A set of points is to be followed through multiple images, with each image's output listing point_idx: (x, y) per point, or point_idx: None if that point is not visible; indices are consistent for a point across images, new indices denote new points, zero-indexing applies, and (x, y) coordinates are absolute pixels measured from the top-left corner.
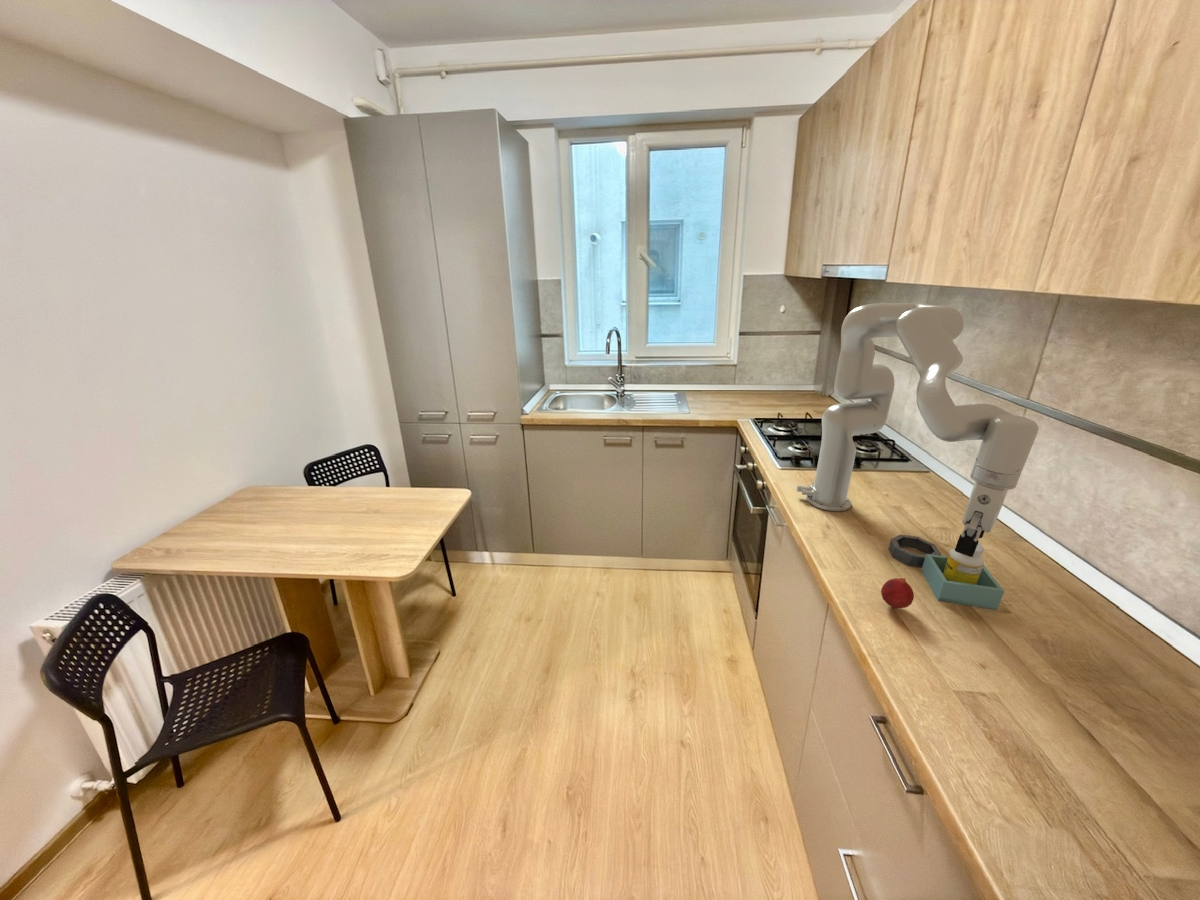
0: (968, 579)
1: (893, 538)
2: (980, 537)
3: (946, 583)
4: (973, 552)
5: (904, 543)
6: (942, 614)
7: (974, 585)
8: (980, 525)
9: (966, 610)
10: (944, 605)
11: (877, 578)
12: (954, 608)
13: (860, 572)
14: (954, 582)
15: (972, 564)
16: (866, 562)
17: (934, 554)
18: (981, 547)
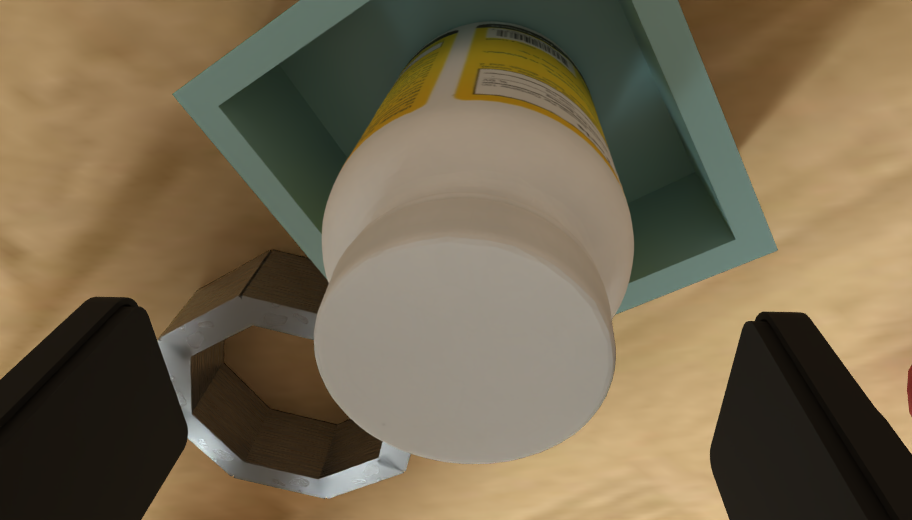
0: (596, 115)
1: (310, 491)
2: (139, 316)
3: (766, 229)
4: (836, 366)
5: (252, 420)
6: (880, 118)
7: (675, 56)
8: (25, 509)
9: (729, 4)
10: (753, 130)
11: (685, 427)
12: (753, 74)
13: (680, 482)
14: (730, 192)
15: (624, 197)
16: (563, 481)
17: (291, 321)
18: (421, 266)
